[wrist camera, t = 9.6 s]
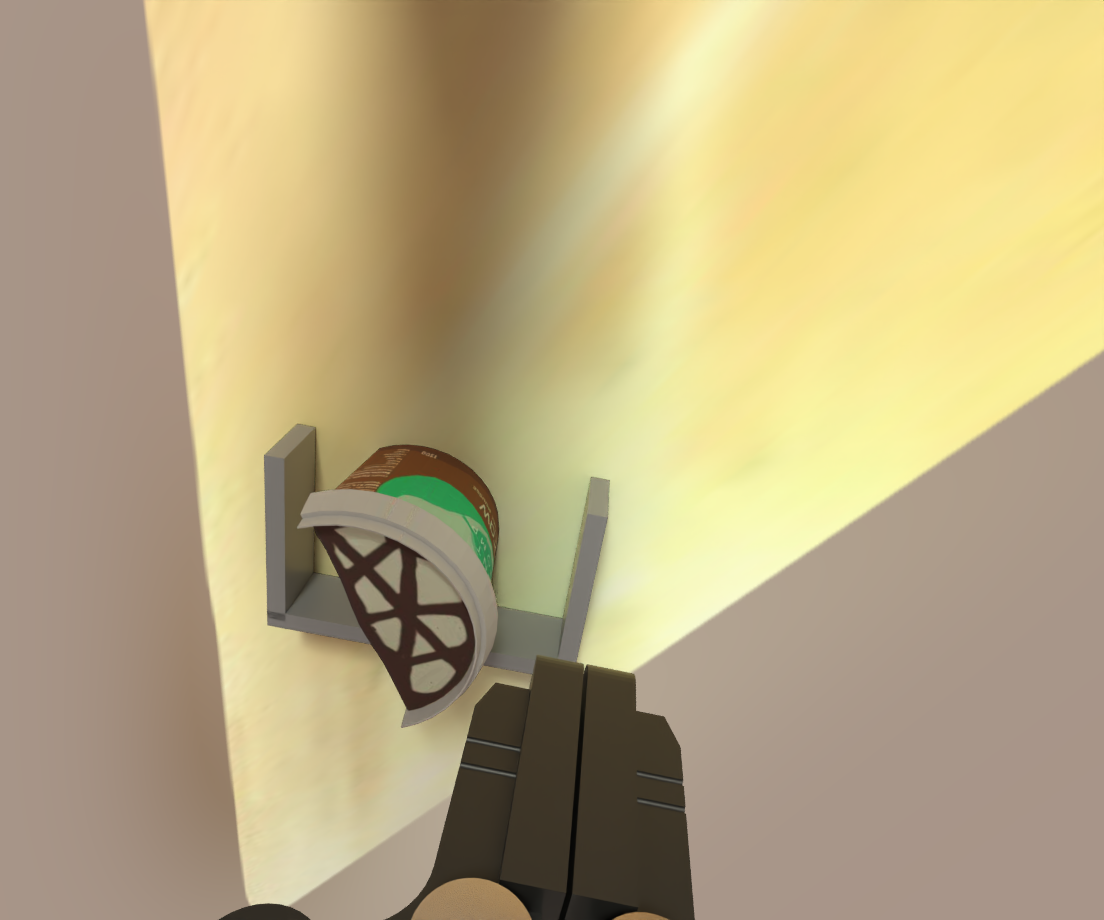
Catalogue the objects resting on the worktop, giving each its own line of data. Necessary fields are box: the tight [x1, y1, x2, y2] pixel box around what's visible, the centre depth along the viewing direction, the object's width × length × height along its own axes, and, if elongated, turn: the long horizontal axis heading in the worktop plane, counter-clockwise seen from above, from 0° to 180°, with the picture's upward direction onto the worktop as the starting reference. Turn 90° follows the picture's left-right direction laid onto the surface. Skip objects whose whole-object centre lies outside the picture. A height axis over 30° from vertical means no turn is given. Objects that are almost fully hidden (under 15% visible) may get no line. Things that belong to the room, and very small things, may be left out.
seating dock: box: [264, 424, 610, 674], centre depth 40 cm, size 10×17×4 cm, turn 81°
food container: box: [297, 445, 499, 728], centre depth 36 cm, size 12×6×10 cm, turn 18°
